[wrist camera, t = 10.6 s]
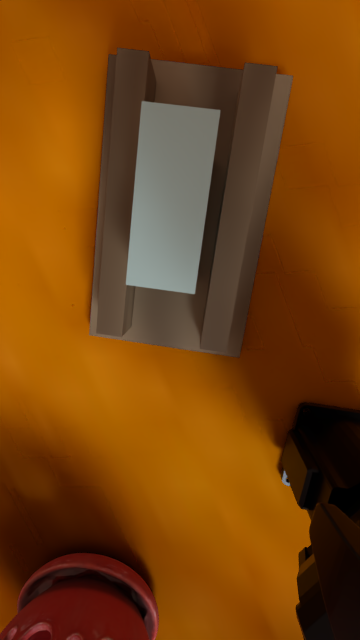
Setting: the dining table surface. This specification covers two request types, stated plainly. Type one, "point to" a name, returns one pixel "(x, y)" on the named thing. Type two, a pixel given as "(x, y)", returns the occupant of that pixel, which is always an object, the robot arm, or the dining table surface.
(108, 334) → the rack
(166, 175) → the pale grey block
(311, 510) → the robot arm
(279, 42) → the dining table surface
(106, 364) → the dining table surface
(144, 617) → the plant pot
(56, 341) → the dining table surface
